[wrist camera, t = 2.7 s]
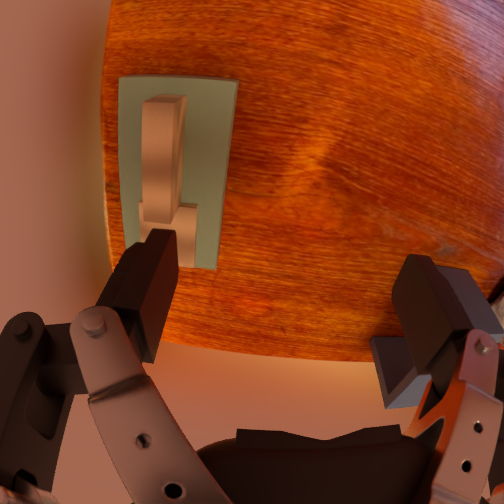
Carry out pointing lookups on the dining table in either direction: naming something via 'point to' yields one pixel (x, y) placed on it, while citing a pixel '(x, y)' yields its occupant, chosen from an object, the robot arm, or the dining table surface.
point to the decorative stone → (499, 308)
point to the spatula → (166, 175)
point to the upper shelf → (398, 354)
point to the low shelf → (194, 152)
